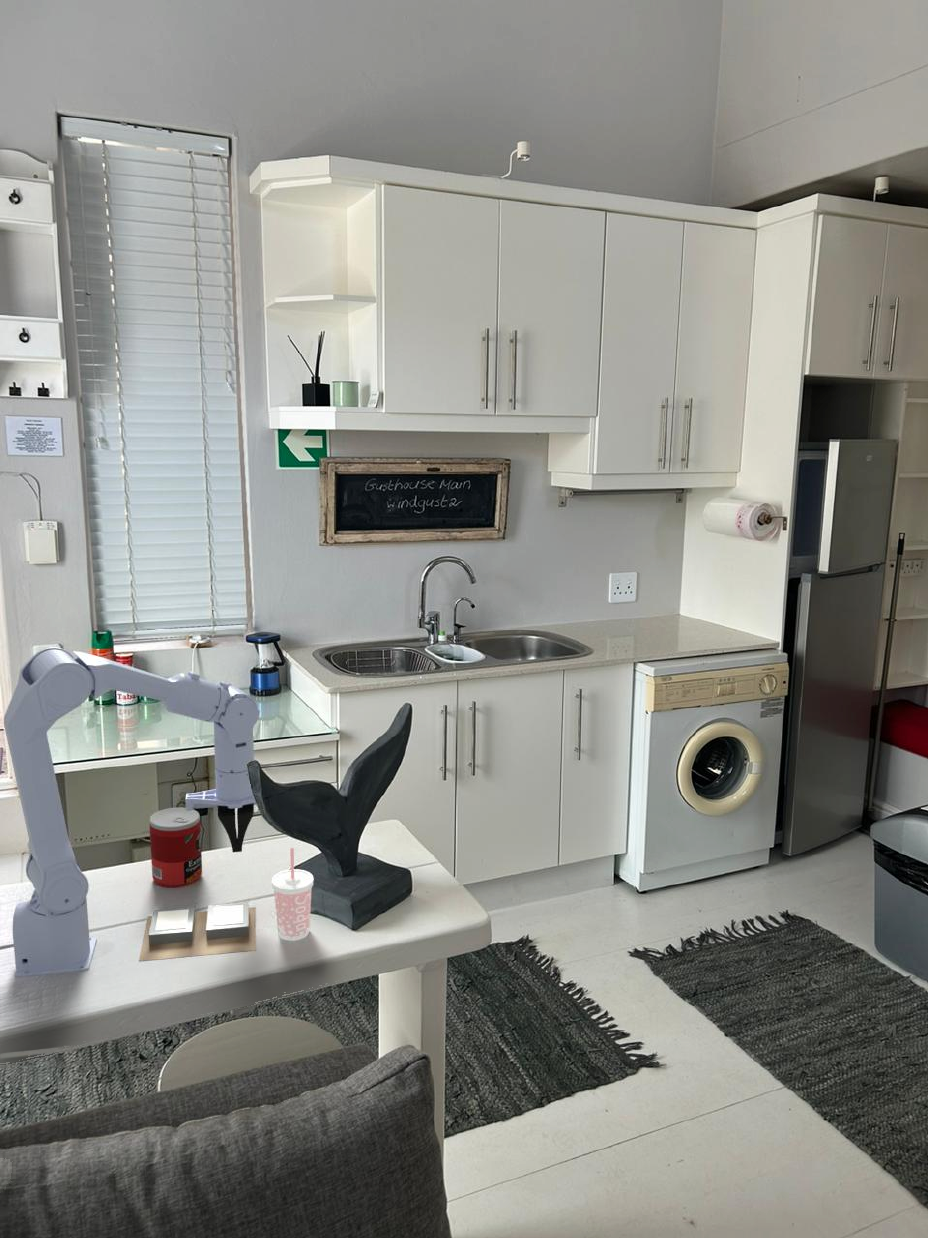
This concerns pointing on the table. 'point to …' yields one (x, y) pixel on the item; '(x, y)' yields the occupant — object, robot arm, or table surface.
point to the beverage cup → (293, 901)
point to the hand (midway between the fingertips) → (237, 849)
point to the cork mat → (199, 941)
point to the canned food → (175, 847)
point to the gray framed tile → (227, 921)
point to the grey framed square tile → (172, 925)
